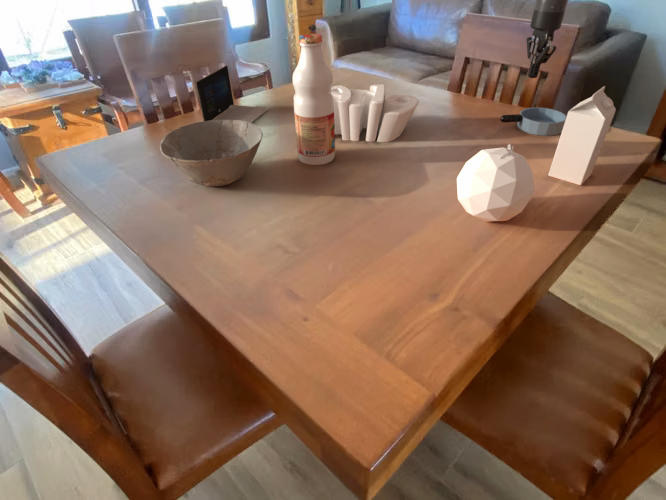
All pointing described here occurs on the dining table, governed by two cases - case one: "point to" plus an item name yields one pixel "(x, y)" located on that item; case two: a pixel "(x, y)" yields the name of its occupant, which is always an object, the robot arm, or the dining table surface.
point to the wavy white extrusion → (371, 113)
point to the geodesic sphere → (495, 184)
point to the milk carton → (582, 138)
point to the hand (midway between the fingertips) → (532, 77)
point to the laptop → (222, 99)
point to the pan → (538, 121)
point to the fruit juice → (313, 104)
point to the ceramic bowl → (213, 150)
